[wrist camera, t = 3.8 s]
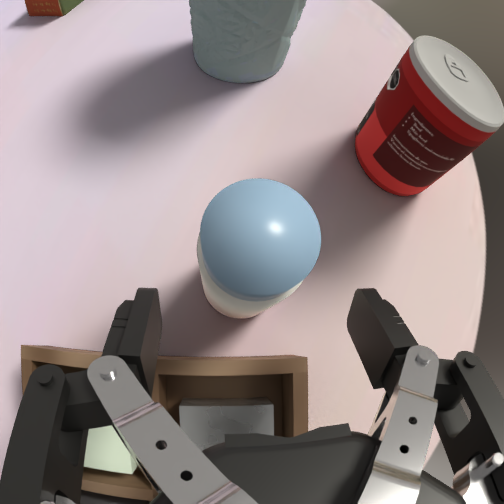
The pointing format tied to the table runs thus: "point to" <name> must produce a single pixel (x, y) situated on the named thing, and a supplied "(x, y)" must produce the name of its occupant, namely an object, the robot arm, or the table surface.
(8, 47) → the table surface
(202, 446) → the grey rectangular block
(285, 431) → the organizer
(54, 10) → the carton
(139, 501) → the eraser
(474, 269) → the table surface
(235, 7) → the green cup
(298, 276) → the glue stick
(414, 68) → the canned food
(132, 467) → the note block
